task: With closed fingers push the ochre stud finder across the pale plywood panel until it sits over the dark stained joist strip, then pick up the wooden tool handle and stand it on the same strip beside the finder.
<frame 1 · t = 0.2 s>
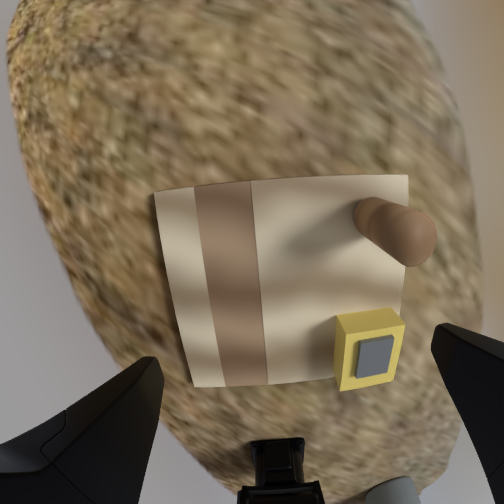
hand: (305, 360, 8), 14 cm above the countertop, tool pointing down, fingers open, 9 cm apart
stud finder: (361, 340, 23), point 1 cm above the countertop, touching plywood panel
plywood panel: (291, 291, 23), on the countertop
water bottle: (388, 486, 36), on the countertop
wooden tool handle: (368, 215, 20), point 1 cm above the countertop, touching plywood panel
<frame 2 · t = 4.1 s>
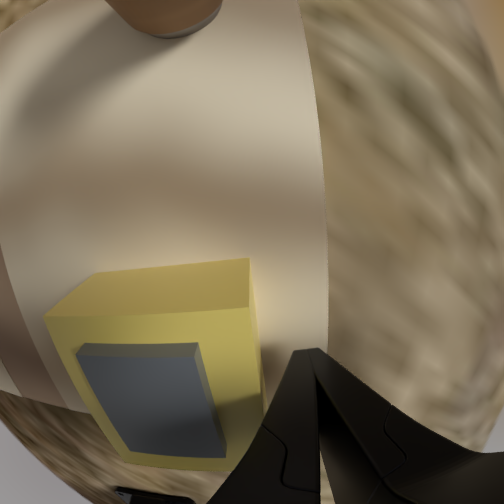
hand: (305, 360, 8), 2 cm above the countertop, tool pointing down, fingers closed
stud finder: (185, 350, 9), point 1 cm above the countertop, touching gripper
plywood panel: (50, 217, 9), on the countertop
wooden tool handle: (178, 5, 6), point 1 cm above the countertop, touching plywood panel
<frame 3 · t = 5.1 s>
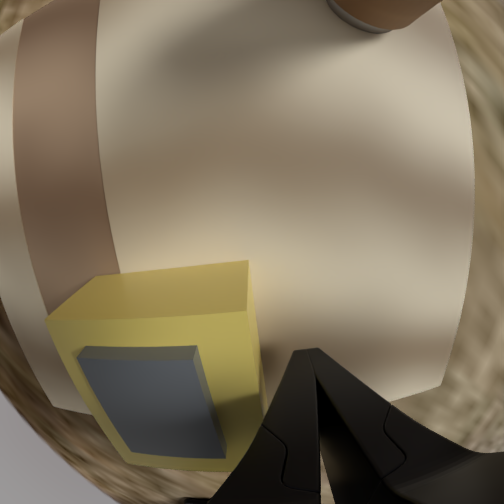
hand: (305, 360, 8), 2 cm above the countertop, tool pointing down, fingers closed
stud finder: (185, 351, 9), point 1 cm above the countertop, touching gripper
plywood panel: (192, 193, 9), on the countertop
wooden tool handle: (363, 2, 6), point 1 cm above the countertop, touching plywood panel
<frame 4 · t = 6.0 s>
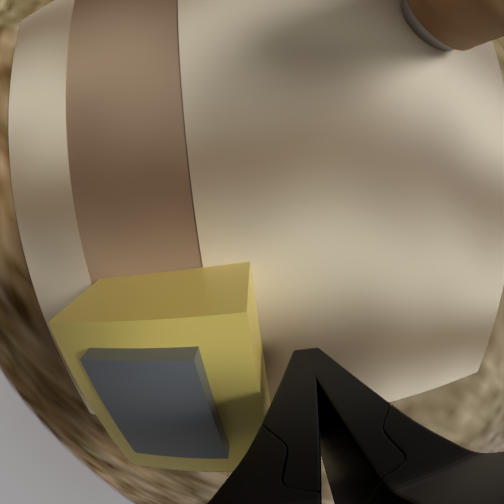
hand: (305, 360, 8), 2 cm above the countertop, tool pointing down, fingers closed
stud finder: (188, 353, 9), point 1 cm above the countertop, touching gripper
plywood panel: (280, 184, 9), on the countertop
wooden tool handle: (431, 20, 6), point 1 cm above the countertop, touching plywood panel
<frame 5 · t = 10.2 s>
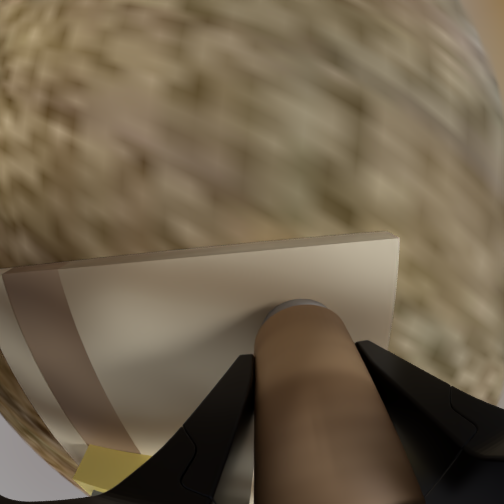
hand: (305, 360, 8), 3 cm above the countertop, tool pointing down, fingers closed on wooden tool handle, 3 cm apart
stud finder: (142, 475, 13), point 1 cm above the countertop, touching plywood panel
plywood panel: (176, 424, 12), on the countertop
wooden tool handle: (298, 332, 9), point 1 cm above the countertop, touching gripper, plywood panel
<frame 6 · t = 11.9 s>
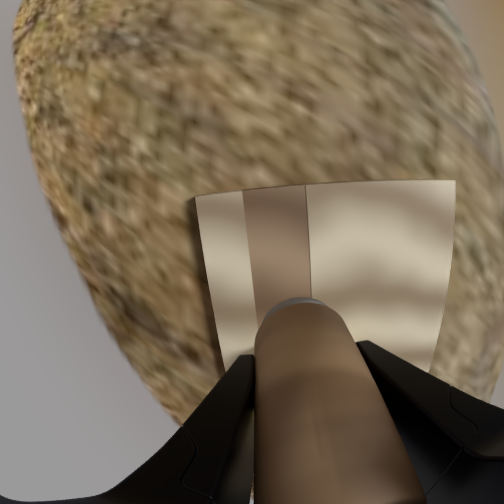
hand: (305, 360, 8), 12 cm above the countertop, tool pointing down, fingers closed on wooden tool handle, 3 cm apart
plywood panel: (341, 302, 21), on the countertop
wooden tool handle: (298, 331, 9), point 11 cm above the countertop, touching gripper
when the fingers open (3 cm above the countertop, at t = 13.8 s): wooden tool handle stays where it is, resting on plywood panel.
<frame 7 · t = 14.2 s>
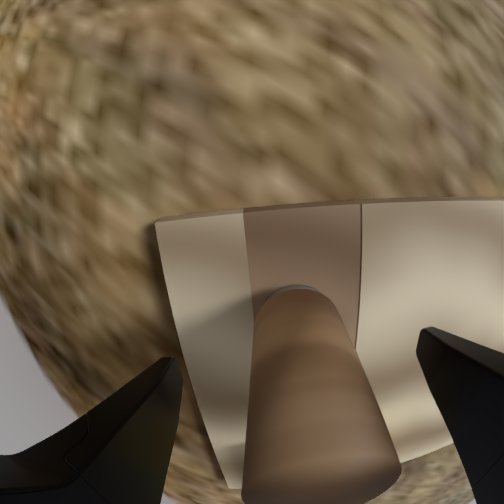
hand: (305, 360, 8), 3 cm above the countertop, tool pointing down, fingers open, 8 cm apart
plywood panel: (389, 377, 13), on the countertop
wooden tool handle: (295, 316, 10), point 1 cm above the countertop, touching plywood panel
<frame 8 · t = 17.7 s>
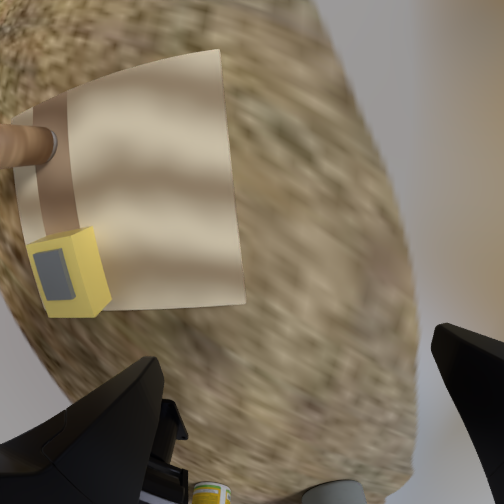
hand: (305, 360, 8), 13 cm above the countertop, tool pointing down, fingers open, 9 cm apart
stud finder: (77, 266, 20), point 1 cm above the countertop, touching plywood panel
plywood panel: (107, 194, 19), on the countertop
water bottle: (331, 490, 32), on the countertop
supplement bottle: (212, 487, 32), on the countertop
wooden tool handle: (46, 145, 17), point 1 cm above the countertop, touching plywood panel
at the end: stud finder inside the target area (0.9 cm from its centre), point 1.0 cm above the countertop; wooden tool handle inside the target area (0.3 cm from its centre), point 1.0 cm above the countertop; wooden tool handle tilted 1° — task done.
